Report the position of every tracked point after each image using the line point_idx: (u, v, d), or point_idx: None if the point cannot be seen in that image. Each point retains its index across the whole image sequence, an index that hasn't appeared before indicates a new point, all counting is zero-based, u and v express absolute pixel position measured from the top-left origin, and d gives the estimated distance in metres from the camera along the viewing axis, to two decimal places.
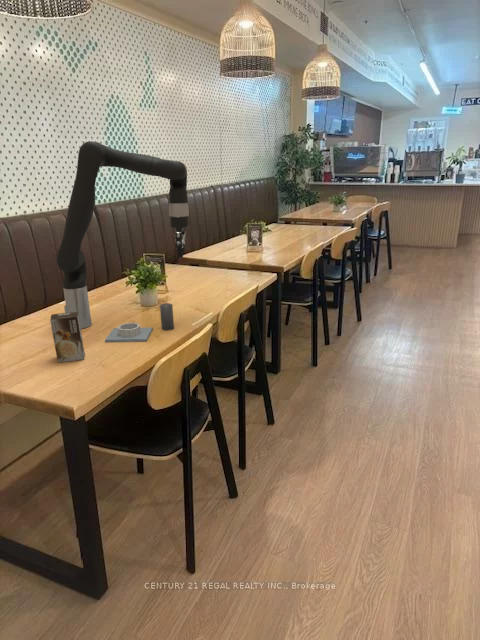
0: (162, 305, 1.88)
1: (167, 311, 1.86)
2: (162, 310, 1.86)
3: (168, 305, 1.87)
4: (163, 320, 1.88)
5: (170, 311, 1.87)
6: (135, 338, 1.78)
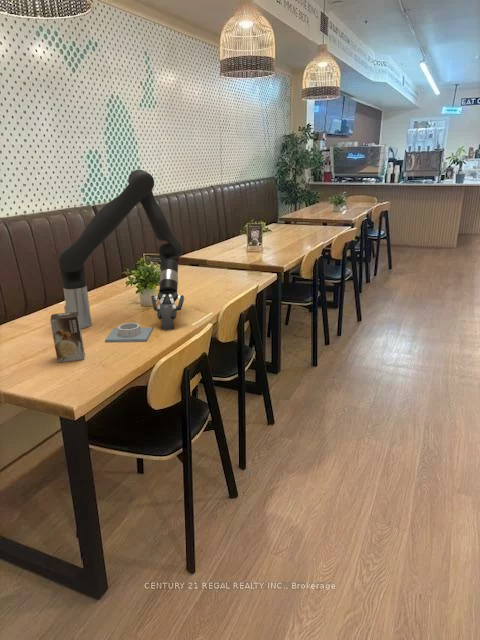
0: (162, 305, 1.88)
1: (167, 311, 1.86)
2: (162, 310, 1.86)
3: (168, 305, 1.87)
4: (163, 320, 1.88)
5: (170, 311, 1.87)
6: (135, 338, 1.78)
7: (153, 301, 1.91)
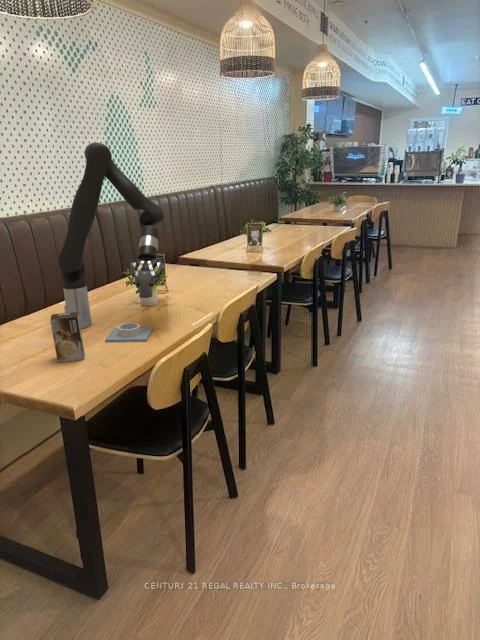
0: (140, 271, 1.79)
1: (145, 277, 1.78)
2: (140, 276, 1.78)
3: (146, 271, 1.79)
4: (141, 287, 1.79)
5: (148, 278, 1.79)
6: (135, 338, 1.78)
7: (131, 268, 1.82)
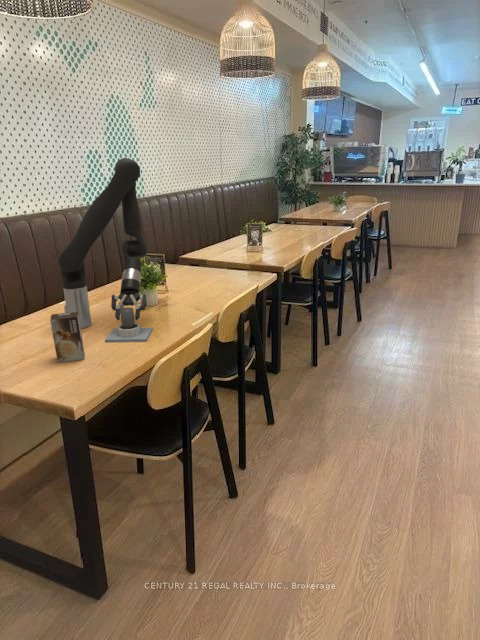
0: (122, 309, 1.80)
1: (128, 315, 1.79)
2: (122, 314, 1.79)
3: (128, 309, 1.80)
4: (123, 325, 1.80)
5: (130, 315, 1.79)
6: (135, 338, 1.78)
7: (112, 301, 1.83)
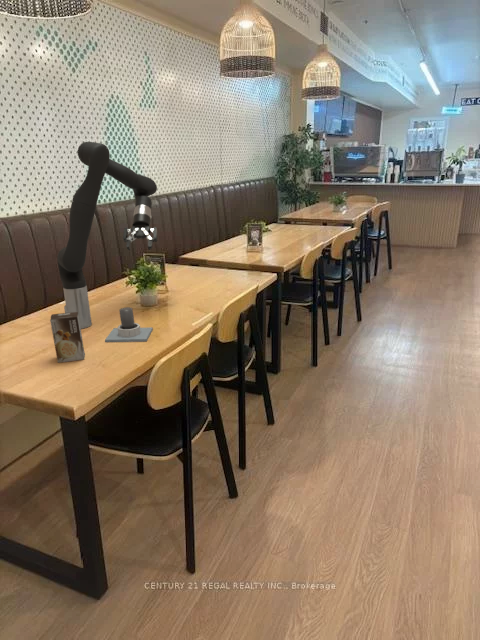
0: (122, 309, 1.80)
1: (127, 315, 1.79)
2: (122, 315, 1.79)
3: (128, 309, 1.80)
4: (123, 325, 1.80)
5: (130, 315, 1.79)
6: (135, 338, 1.78)
7: (125, 232, 1.96)
